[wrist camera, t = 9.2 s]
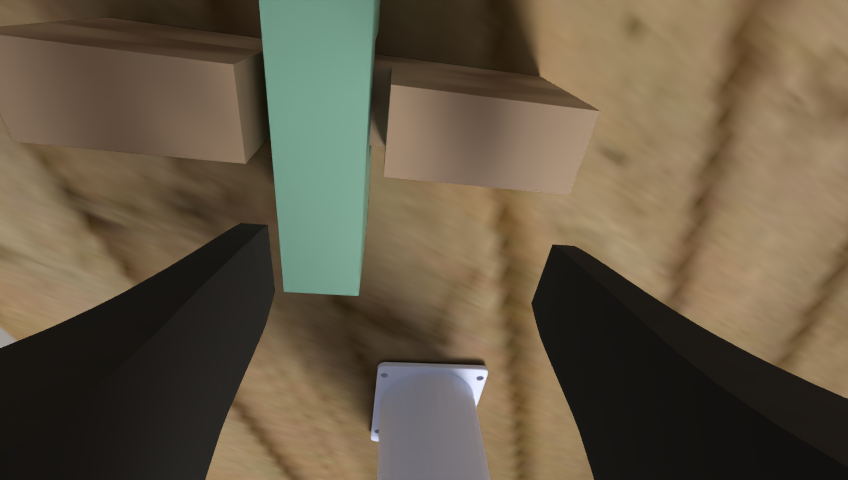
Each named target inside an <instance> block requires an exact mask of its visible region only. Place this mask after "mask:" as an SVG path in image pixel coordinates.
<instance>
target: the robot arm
mask: <svg viewBox="0 0 848 480" xmlns="http://www.w3.org/2000/svg"><path fill="white" fill-rule="evenodd" d="M274 293H275V287H274V278H273V270H272V261H271V252H270V243H269V234H268V225H259V224H245V223H241V224H239V225H237V226H235V227H233V228H231V229H230V230H228V231H226V232H225V233H223V234H221V235H220V236H218V237H217V238H215V239H213V240H212V241H210V242H209V243H207V244H206V245H204V246H202V247H201V248H199V249H198V250H196V251H194V252H193V253H191V254H189V255H188V256H186V257H185V258H183V259H181V260H180V261H178V262H176V263H175V264H173V265H171V266H170V267H168V268H166V269H165V270H163V271H161V272H159V273H157V274H156V275H154V276H152V277H150V278H149V279H147V280H145V281H143V282H141V283H140V284H138V285H136V286H134V287H132V288H131V289H129V290H127V291H125V292H124V293H122V294H120V295H118V296H116V297H114V298H112V299H110V300H108V301H106V302H104V303H102V304H100V305H98V306H96V307H94V308H92V309H90V310H88V311H85V312H83V313H81V314H79V315H77V316H75V317H73V318H71V319H68V320H66V321H64V322H62V323H60V324H58V325H55V326H53V327H51V328H49V329H46V330H44V331H41V332H39V333H37V334H34V335H32V336H29V337H27V338H24V339H22V340H19V341H17V342H14V343H12V344H10V345H7V346H5V347H2V348H0V480H205V478H206V475H207V472H208V469H209V466H210V463H211V460H212V457H213V454H214V450H215V447H216V444H217V441H218V438H219V435H220V432H221V429H222V427H223V424H224V421H225V419H226V416H227V414H228V411H229V409H230V406H231V404H232V402H233V400H234V397H235V395H236V393H237V390H238V388H239V386H240V384H241V381H242V379H243V377H244V374H245V372H246V370H247V368H248V365H249V363H250V361H251V358H252V356H253V354H254V351H255V349H256V347H257V344H258V342H259V340H260V337H261V335H262V333H263V330H264V328H265V325H266V322H267V318H268V315H269V311H270V308H271V304H272V300H273V296H274ZM531 304H532V308H533V312H534V316H535V320H536V324H537V327H538V331H539V335H540V338H541V340H542V343H543V345H544V348H545V350H546V353H547V355H548V357H549V360H550V362H551V365H552V367H553V369H554V372H555V374H556V376H557V379H558V381H559V383H560V386H561V388H562V390H563V393H564V395H565V397H566V400H567V402H568V404H569V407H570V409H571V411H572V414H573V416H574V419H575V422H576V424H577V427H578V429H579V432H580V435H581V438H582V441H583V445H584V448H585V451H586V454H587V457H588V461H589V464H590V467H591V470H592V473H593V477H594V480H848V399H847V398H844V397H842V396H840V395H838V394H835V393H833V392H831V391H828V390H826V389H824V388H821V387H819V386H817V385H815V384H812V383H810V382H808V381H806V380H804V379H802V378H800V377H798V376H795V375H793V374H791V373H789V372H787V371H785V370H783V369H781V368H778V367H776V366H774V365H772V364H770V363H768V362H766V361H764V360H762V359H760V358H758V357H756V356H754V355H752V354H750V353H748V352H746V351H744V350H742V349H741V348H739V347H737V346H735V345H733V344H731V343H729V342H728V341H726V340H724V339H722V338H720V337H718V336H716V335H715V334H713V333H711V332H709V331H708V330H706V329H704V328H702V327H701V326H699V325H697V324H695V323H694V322H692V321H690V320H689V319H687V318H686V317H684V316H682V315H681V314H679V313H678V312H676V311H674V310H673V309H671V308H669V307H668V306H666V305H665V304H663V303H662V302H660V301H658V300H657V299H655V298H654V297H652V296H651V295H649V294H648V293H646V292H645V291H643V290H642V289H640V288H639V287H637V286H636V285H634V284H633V283H631V282H630V281H628V280H627V279H625V278H624V277H622V276H621V275H620V274H618V273H617V272H615V271H614V270H612V269H611V268H609V267H608V266H606V265H605V264H603V263H602V262H600V261H599V260H597V259H596V258H594V257H593V256H591V255H589V254H588V253H586V252H585V251H583V250H581V249H579V248H577V247H575V246H567V245H552V248H551V250H550V253H549V256H548V259H547V262H546V264H545V267H544V270H543V273H542V275H541V278H540V281H539V284H538V287H537V289H536V292H535V295H534V298H533V300H532V303H531ZM487 375H488V370H487V367H486V366H483V365H458V364H428V363H399V362H382V363H380V364H379V365H378V371H377V380H376V390H375V400H374V410H373V419H372V429H371V439H372V440H373V441H379V446H378V476H377V480H491V479H490V474H489V469H488V464H487V459H486V454H485V449H484V444H483V439H482V434H481V429H480V424H479V419H478V414H477V409H476V407H477V404H478V401H479V398H480V395H481V392H482V390H483V387H484V384H485V381H486V378H487Z"/></svg>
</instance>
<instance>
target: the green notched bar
mask: <svg viewBox="0 0 848 480" xmlns="http://www.w3.org/2000/svg"><path fill="white" fill-rule="evenodd" d="M259 8H260V20H261V31H262V43H263V55H264V66H265V78H266V89H267V101H268V113H269V124H270V136H271V148H272V159H273V171H274V183H275V194H276V206H277V218H278V229H279V241H280V252H281V264H282V276H283V287H284V292H297V293H315V294H333V295H351V296H359V289H360V280H361V271H362V263H363V254H364V245H365V237H366V228H367V216H368V199H369V182H370V166H371V149H372V146H370V130H371V112H372V94H373V77H374V59H375V41H376V37H377V35H378V31H379V14H380V0H259Z"/></svg>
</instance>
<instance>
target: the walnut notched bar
mask: <svg viewBox="0 0 848 480" xmlns="http://www.w3.org/2000/svg"><path fill="white" fill-rule="evenodd" d="M599 114H600V111H599V110H598V109H596V108H594V107H592V106H591V105H589V104H587V103H585V102H584V101H582V100H580V99H578V98H577V97H575V96H573V95H572V94H570V93H568V92H566V91H565V90H563V89H561V88H559V87H558V86H556V85H554V84H552V83H551V82H549V81H547V80H546V79H544V78H542V77H539V76H532V75H525V74H518V73H510V72H503V71H496V70H488V69H481V68H474V67H466V66H459V65H452V64H444V63H437V62H430V61H422V60H415V59H408V58H400V57H393V56H386V55H378V54H375V59H374V77H373V94H372V112H371V130H370V146H379V147H385V161H384V177H388V178H398V179H409V180H419V181H430V182H440V183H451V184H461V185H471V186H482V187H492V188H503V189H513V190H524V191H534V192H544V193H555V194H565V195H569V194H570V192H571V189H572V186H573V184H574V181H575V178H576V176H577V173H578V170H579V168H580V165H581V162H582V160H583V157H584V154H585V152H586V149H587V146H588V144H589V141H590V138H591V136H592V133H593V130H594V128H595V125H596V122H597V120H598V117H599ZM0 115H1V117H2V119H3V121H4V123H5V126H6V128H7V130H8V132H9V134H10V137H11V139H12V141H13V142H23V143H33V144H44V145H54V146H65V147H75V148H86V149H96V150H106V151H117V152H127V153H138V154H148V155H159V156H169V157H179V158H190V159H200V160H211V161H221V162H232V163H242V164H246V163H247V162H248V160H249V159H250V158H251V157H252V156H253V155H254V153H255V152H256V151H257V150H258V149H259V148H260V146H261V145H262V144H263V143H264V142H265V141H266V140H267V138H268V137H269V136H270V124H269V113H268V101H267V89H266V78H265V66H264V55H263V43H262V39H261V38H254V37H247V36H239V35H232V34H225V33H217V32H210V31H203V30H195V29H188V28H181V27H173V26H166V25H159V24H151V23H144V22H137V21H129V20H122V19H115V18H108V17H105V18H93V19H82V20H71V21H59V22H48V23H37V24H25V25H14V26H3V27H0Z"/></svg>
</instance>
